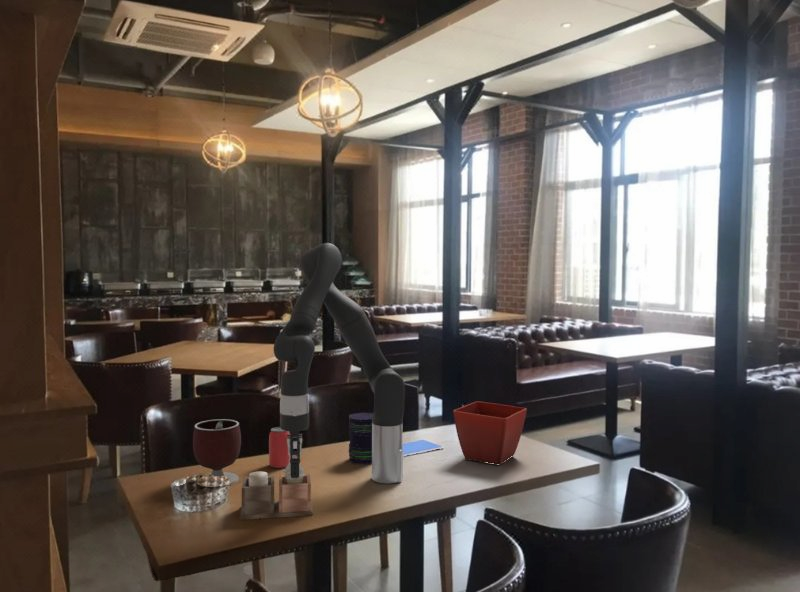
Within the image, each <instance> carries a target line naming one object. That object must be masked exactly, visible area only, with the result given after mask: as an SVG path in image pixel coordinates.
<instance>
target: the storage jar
mask: <svg viewBox="0 0 800 592" xmlns="http://www.w3.org/2000/svg"><path fill="white" fill-rule="evenodd" d="M373 413H374V412H355V413H351V414H349V415H348V419H349V420H348V433H349V444H348V456H349V458H348V461H349V463H350V464H353V465H359V466H360V465H361V466H364V465H366V464H367V465H372V415H373ZM367 465H366V466H367Z"/></svg>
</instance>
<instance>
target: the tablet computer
mask: <svg viewBox="0 0 800 592" xmlns="http://www.w3.org/2000/svg"><path fill="white" fill-rule="evenodd" d="M402 446H403V456H407V455H411V456H413V455H412V454H416V453H421V452H426V451H430V452H432V451H431V450H435V449H439V448H443V449H444V447H443V446H442V445H439V444H436V443H433V442H431V441H428V440H425V439H419V440H415V441H408V442H405V443H403V442H402ZM435 451H436V450H435ZM426 453H427V452H426ZM421 454H422V453H421ZM416 455H417V454H416ZM407 457H408V456H407Z"/></svg>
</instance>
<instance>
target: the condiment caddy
mask: <svg viewBox="0 0 800 592" xmlns="http://www.w3.org/2000/svg"><path fill="white" fill-rule="evenodd" d="M268 475H269V474H268V472H266V471H261V470H260V471H253V472H250V473H249V474H248V477H243V478H242V483H241V505H240V512H239V520H240V521H241V520H242V521H243V520H244V519H245V520H257V519H259V518H261V519H274V518H275V517H276V518H286V517H287V518H288V517H289V518H290V517H305V516H306V517H307V515H308V516H313V515H314V513H313V512H314V511H313V502H312V489H311V488H312V487H311V486H312V484H311V476H310V474H309V473H308V474H304V477H303V480H302V484H287V481H286V478H285V475H278V487H279V488H278V500H275V476H274V475H272V476H270V475H269V476H268ZM259 520H260V519H259Z"/></svg>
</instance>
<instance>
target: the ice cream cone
mask: <svg viewBox="0 0 800 592" xmlns="http://www.w3.org/2000/svg"><path fill="white" fill-rule="evenodd" d="M295 458H297V456H296V455H292V459H295ZM304 475H305V474H304V468H303V465H301V464H300V463H299V477H298V478H291V464H290V460H289V464H288V466H287V467H285V468H284V476H285V478H286V481H287V484H302V480H303V477H304Z"/></svg>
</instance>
